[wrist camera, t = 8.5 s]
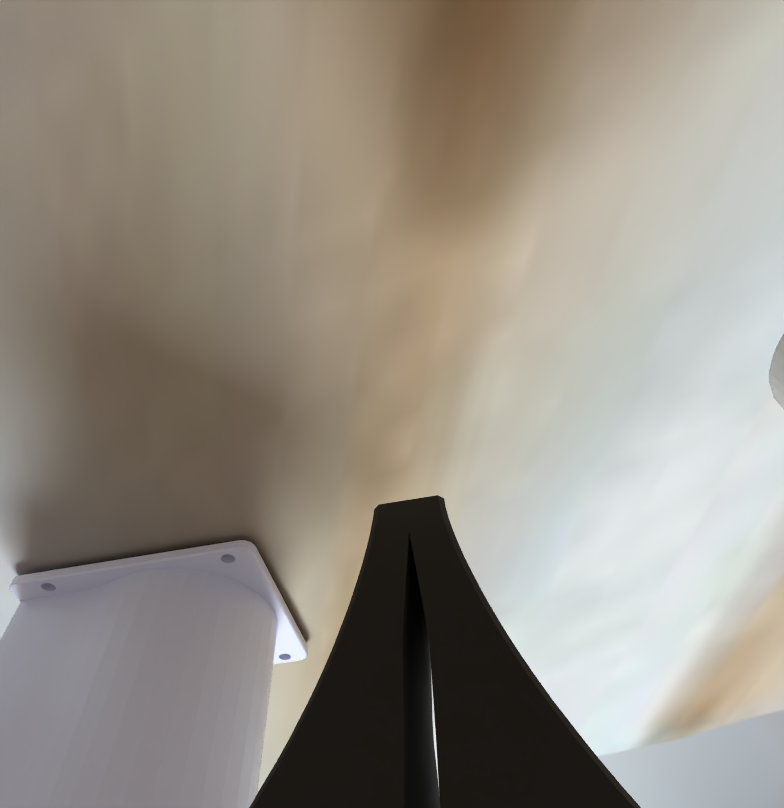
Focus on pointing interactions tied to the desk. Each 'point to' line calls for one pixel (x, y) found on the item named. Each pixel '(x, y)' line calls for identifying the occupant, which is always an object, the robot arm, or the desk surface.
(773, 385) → the adjustable wrench
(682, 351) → the desk surface
